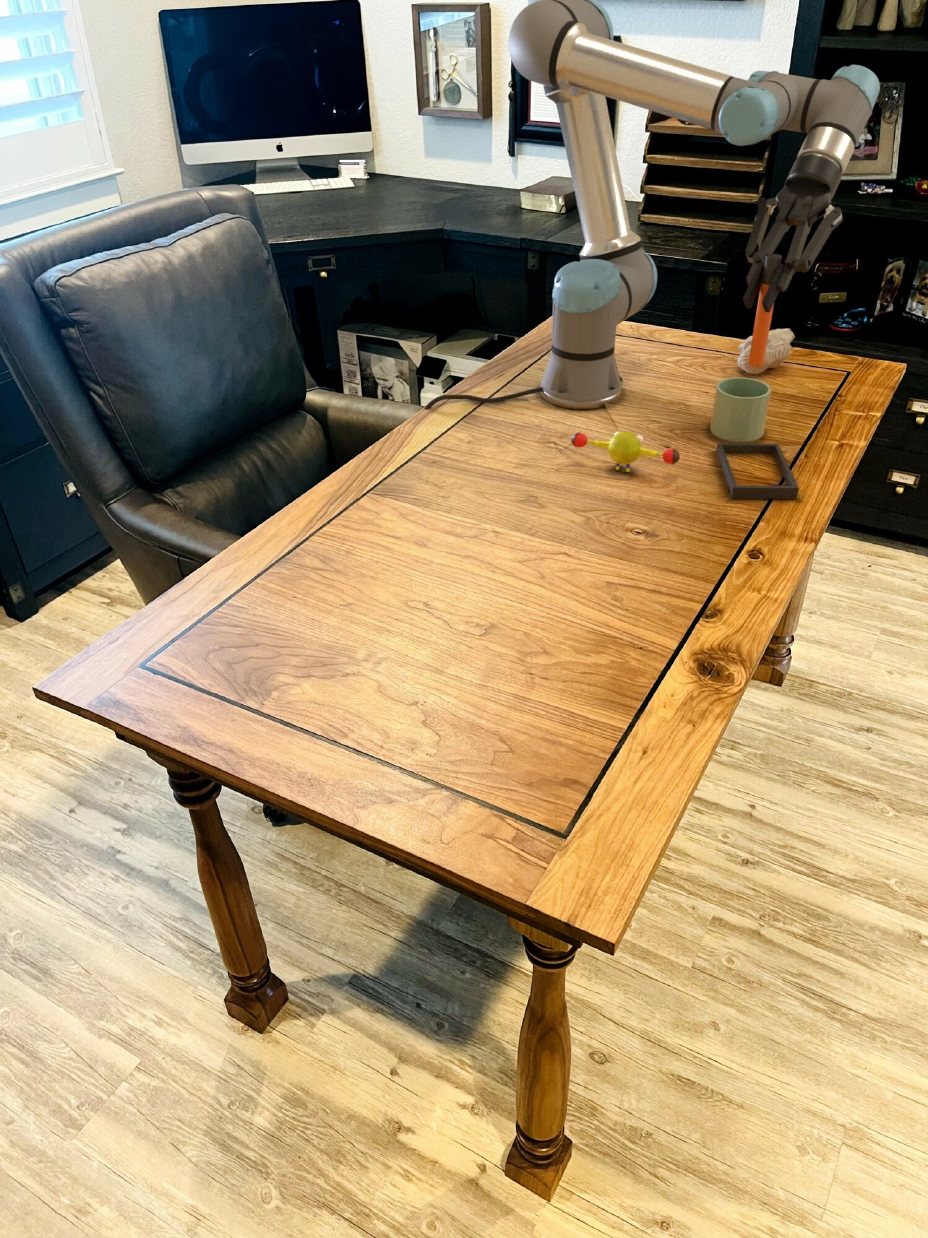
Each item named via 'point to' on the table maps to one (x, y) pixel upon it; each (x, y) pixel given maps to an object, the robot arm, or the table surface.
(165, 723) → the table surface
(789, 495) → the pen tray
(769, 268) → the marker
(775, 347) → the fossil replica
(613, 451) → the toy figure
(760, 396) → the pen cup
